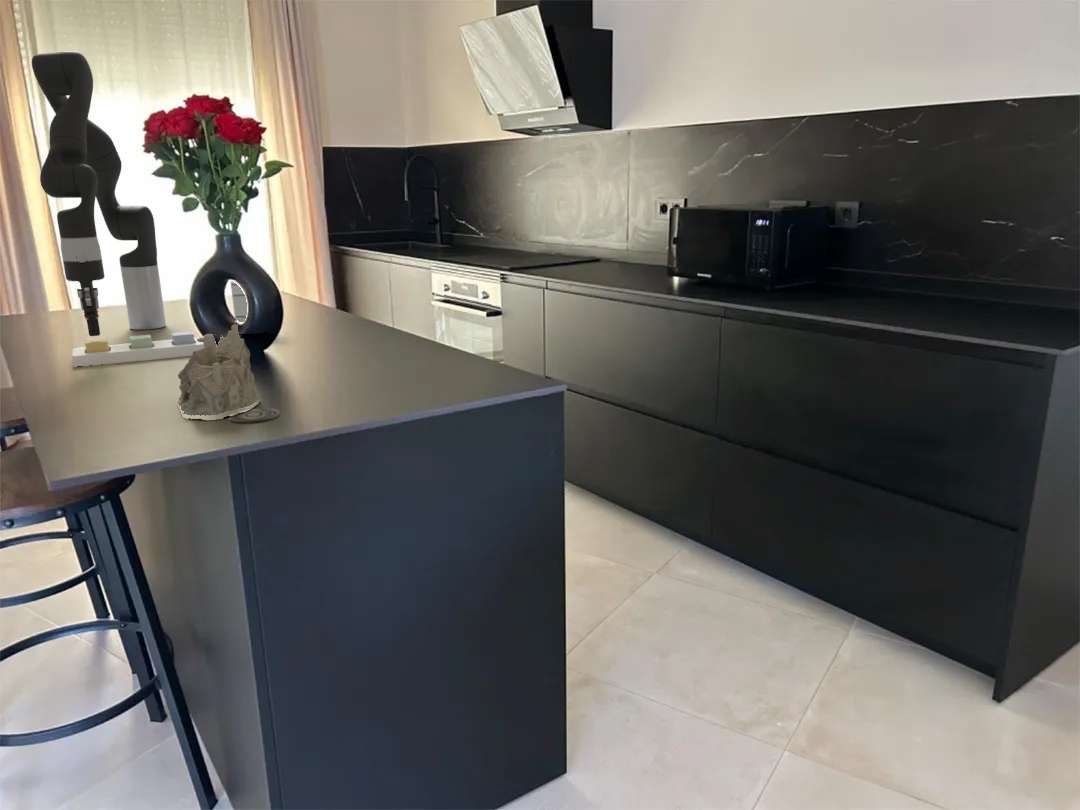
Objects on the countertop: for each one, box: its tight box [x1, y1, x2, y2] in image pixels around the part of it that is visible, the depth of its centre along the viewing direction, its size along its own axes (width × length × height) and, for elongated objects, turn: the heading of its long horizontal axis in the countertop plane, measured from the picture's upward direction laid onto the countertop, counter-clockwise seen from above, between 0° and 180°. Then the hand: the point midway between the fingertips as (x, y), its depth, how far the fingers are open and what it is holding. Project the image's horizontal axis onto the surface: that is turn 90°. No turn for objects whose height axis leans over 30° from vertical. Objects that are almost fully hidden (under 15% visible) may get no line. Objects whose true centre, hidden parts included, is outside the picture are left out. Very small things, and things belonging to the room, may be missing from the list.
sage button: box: [129, 334, 153, 349], centre depth 180 cm, size 4×4×3 cm
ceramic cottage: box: [177, 324, 260, 416], centre depth 138 cm, size 16×16×15 cm
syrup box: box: [229, 280, 247, 322], centre depth 207 cm, size 6×6×14 cm
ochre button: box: [84, 337, 109, 353], centre depth 176 cm, size 4×4×3 cm
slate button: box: [171, 330, 195, 345], centre depth 184 cm, size 4×4×3 cm
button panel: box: [71, 335, 218, 368], centre depth 182 cm, size 10×32×3 cm, turn 119°
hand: (94, 335), depth 175 cm, fingers closed
